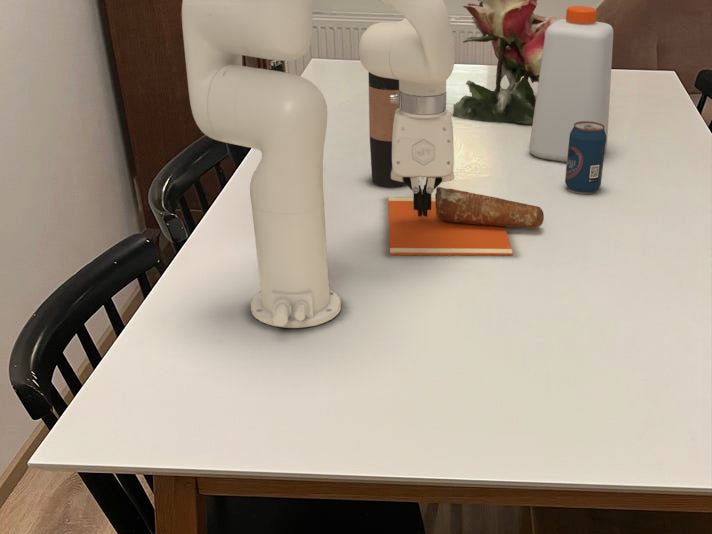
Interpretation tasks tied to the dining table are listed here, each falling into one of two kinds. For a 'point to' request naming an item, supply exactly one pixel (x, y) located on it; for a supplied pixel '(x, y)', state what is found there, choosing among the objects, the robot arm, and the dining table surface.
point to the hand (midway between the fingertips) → (422, 213)
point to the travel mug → (382, 128)
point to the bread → (485, 210)
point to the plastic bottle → (571, 81)
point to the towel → (440, 233)
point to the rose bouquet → (507, 60)
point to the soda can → (585, 157)
